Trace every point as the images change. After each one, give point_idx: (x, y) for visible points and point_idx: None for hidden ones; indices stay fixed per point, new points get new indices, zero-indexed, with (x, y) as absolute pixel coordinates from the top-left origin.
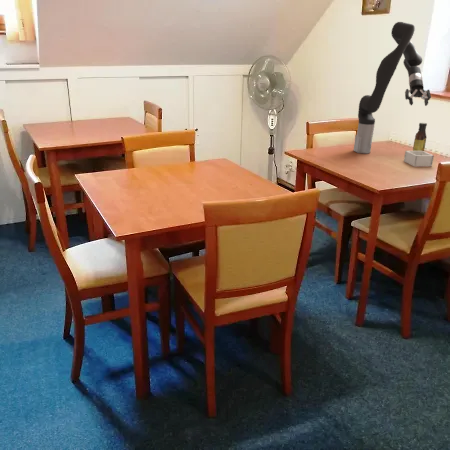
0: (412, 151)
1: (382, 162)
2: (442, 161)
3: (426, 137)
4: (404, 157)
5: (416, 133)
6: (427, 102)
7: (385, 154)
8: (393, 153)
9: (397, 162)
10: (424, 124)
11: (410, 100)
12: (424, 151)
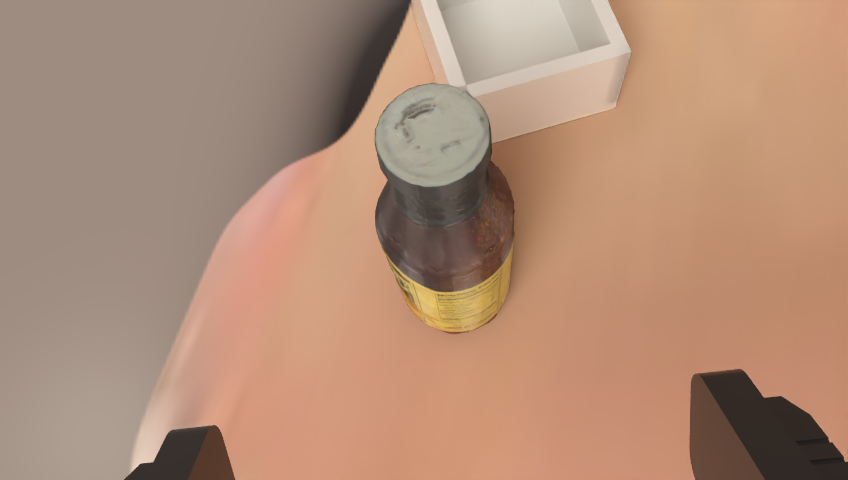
0: (562, 60)
1: (804, 24)
2: (265, 186)
3: (380, 195)
4: (619, 87)
5: (505, 208)
6: (157, 456)
7: (771, 327)
8: (680, 398)
9: (674, 56)
10: (425, 86)
11: (837, 475)
12: (446, 73)
